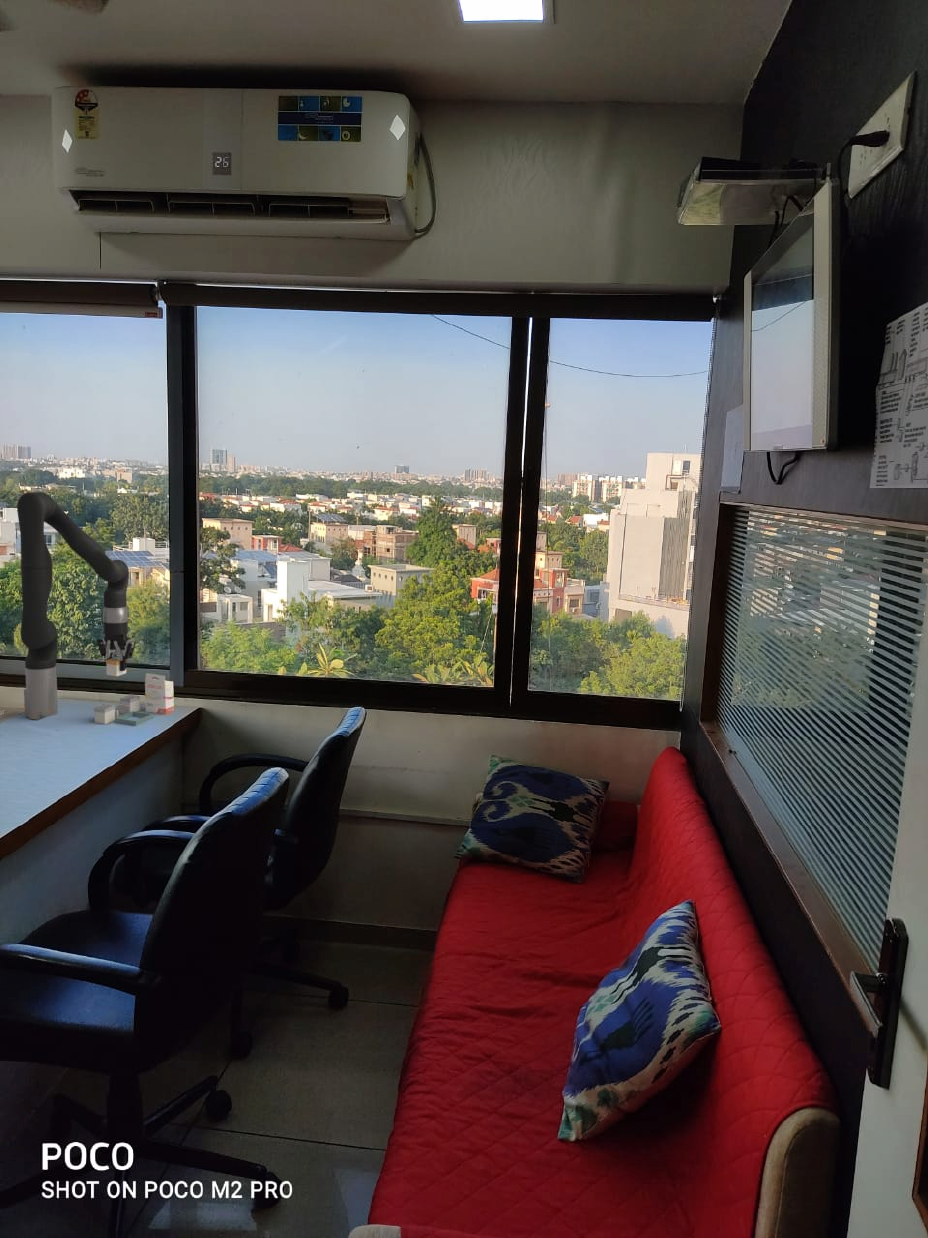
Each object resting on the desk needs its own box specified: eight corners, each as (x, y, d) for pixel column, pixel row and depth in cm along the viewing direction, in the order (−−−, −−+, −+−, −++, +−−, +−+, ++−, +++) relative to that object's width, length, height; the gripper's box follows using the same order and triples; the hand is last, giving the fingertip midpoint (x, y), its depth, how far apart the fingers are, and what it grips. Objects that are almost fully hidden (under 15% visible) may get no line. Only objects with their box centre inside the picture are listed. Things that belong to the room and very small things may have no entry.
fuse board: (89, 725, 276) (89, 707, 275) (127, 710, 294) (126, 693, 293) (108, 727, 274) (107, 710, 273) (144, 712, 292) (144, 696, 291)
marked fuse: (106, 674, 279) (106, 660, 278) (116, 671, 284) (116, 657, 283) (116, 676, 278) (116, 661, 277) (126, 673, 283) (126, 658, 282)
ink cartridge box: (174, 713, 293) (174, 673, 290) (165, 717, 288) (165, 676, 285) (154, 710, 295) (153, 670, 293) (144, 714, 290) (144, 673, 288)
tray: (114, 725, 277) (114, 718, 276) (132, 718, 285) (132, 711, 285) (136, 728, 275) (136, 721, 274) (153, 721, 283) (153, 714, 283)
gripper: (89, 619, 276) (91, 670, 279) (126, 623, 273) (127, 674, 276) (104, 616, 283) (106, 665, 286) (141, 620, 280) (142, 669, 283)
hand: (116, 669), depth 281 cm, fingers closed on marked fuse, 4 cm apart
